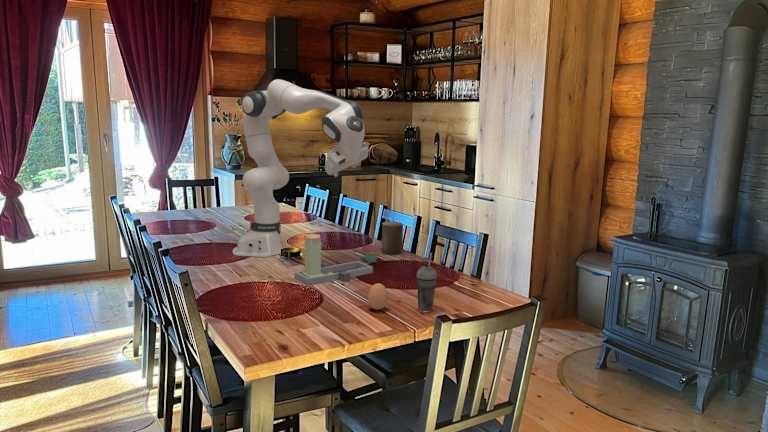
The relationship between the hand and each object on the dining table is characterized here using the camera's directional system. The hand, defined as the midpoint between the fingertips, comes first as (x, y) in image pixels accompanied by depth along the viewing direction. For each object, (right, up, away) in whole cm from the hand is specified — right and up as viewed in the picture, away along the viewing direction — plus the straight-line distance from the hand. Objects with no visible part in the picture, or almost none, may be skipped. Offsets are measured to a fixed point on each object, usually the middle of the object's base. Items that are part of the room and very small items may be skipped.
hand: (344, 171), depth 241 cm
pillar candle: (+20, -36, +24) cm, 48 cm away
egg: (+14, -51, -49) cm, 72 cm away
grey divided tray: (-3, -43, -13) cm, 45 cm away
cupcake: (+11, -39, +10) cm, 41 cm away
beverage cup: (+30, -51, -48) cm, 77 cm away
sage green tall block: (-11, -44, -19) cm, 49 cm away
